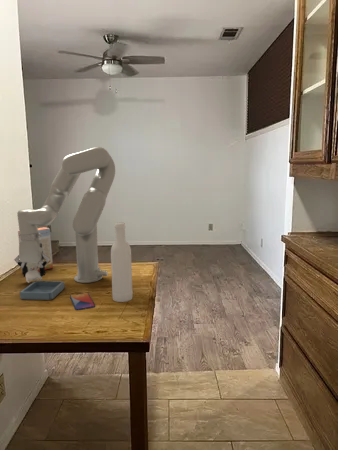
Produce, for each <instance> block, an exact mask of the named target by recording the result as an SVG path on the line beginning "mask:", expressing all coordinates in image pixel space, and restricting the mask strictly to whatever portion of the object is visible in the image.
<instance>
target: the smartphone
mask: <svg viewBox="0 0 338 450" xmlns="http://www.w3.org/2000/svg"><path fill="white" fill-rule="evenodd" d="M69 298H70V301H71V303H72V305H73V308H74V310H75V311H81V310H88V309H93V308H95V307H96V304H95V303H94V301H93V299H92V297H91V295H90V293H89V292H80V293H79V292H78V293H75V294H74V293H72V294H70V295H69Z"/></svg>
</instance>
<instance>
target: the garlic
mask: <svg viewBox="0 0 338 450" xmlns="http://www.w3.org/2000/svg"><path fill="white" fill-rule="evenodd" d="M25 276H26V277H25V282H27V283H28V284H29V283H31V282H34V281H43V276H40V271H37V270H33V271H29V272H27V273H26V275H25Z"/></svg>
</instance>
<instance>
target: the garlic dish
mask: <svg viewBox="0 0 338 450" xmlns="http://www.w3.org/2000/svg"><path fill="white" fill-rule="evenodd" d="M65 287H66V286H65V281H63V280H62V281H61V280H33V281H32V283H30V284H29V285H27V286H26V287H25V288H23V289H22V290H21V291H20V292H19V297H20V300H35V301H36V300H44V301H45V300H46V301H50V300H53V299H55V297H57V295H59V294H60V293H61V292H62V291H63V290H64V289H65Z"/></svg>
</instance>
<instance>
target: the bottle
mask: <svg viewBox="0 0 338 450" xmlns="http://www.w3.org/2000/svg"><path fill="white" fill-rule="evenodd" d="M114 230H115V231H114V232H115V241H114V242H113V244H112V246H111V248H110V265H111V289H112V290H111V296H112V300H113V301H114V302H116V303H122V302H123V303H126V302H130V301H131V300H132V299H133V294H134V292H133V273H132V269H133V268H132V247H131V245H130V244H129V242H127V241H126V225H125V223H124V222H122V221H121V222H115V224H114Z"/></svg>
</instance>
